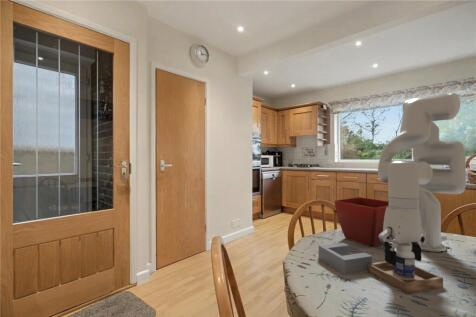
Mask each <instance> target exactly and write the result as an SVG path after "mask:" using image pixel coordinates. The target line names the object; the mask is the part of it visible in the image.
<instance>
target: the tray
mask: <svg viewBox="0 0 476 317" xmlns="http://www.w3.org/2000/svg"><path fill="white" fill-rule="evenodd" d="M367 273H369V274H370V275H371V276H374V277H376V278H377V279H379V280H381V281H382V282H385V283H387V284H389V285H391V286H392V287H393V288H396V289H397V290H399V291H401V292H403V293H404V294H406V295H411V294H416V293H421V292H424V291H425V292H426V291H430V290H435V289H439V288H443V287H444V277H443V276H440V275H437V274H436V273H433V272H431V271H428V270H426V269H423V268H421V267H419V266H416V265H415V277H414V280H402V279H399V278H397V277H395V276H394V275H393V265H392V264H390V263H388V262H386V261H385V260H384V261H380V262H372V263H371V264H368V271H367Z"/></svg>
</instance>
